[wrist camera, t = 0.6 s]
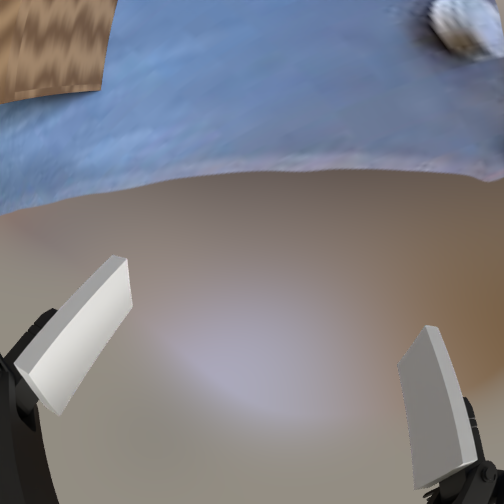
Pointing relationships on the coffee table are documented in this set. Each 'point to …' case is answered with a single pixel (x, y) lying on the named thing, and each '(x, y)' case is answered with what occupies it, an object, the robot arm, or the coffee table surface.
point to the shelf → (52, 46)
